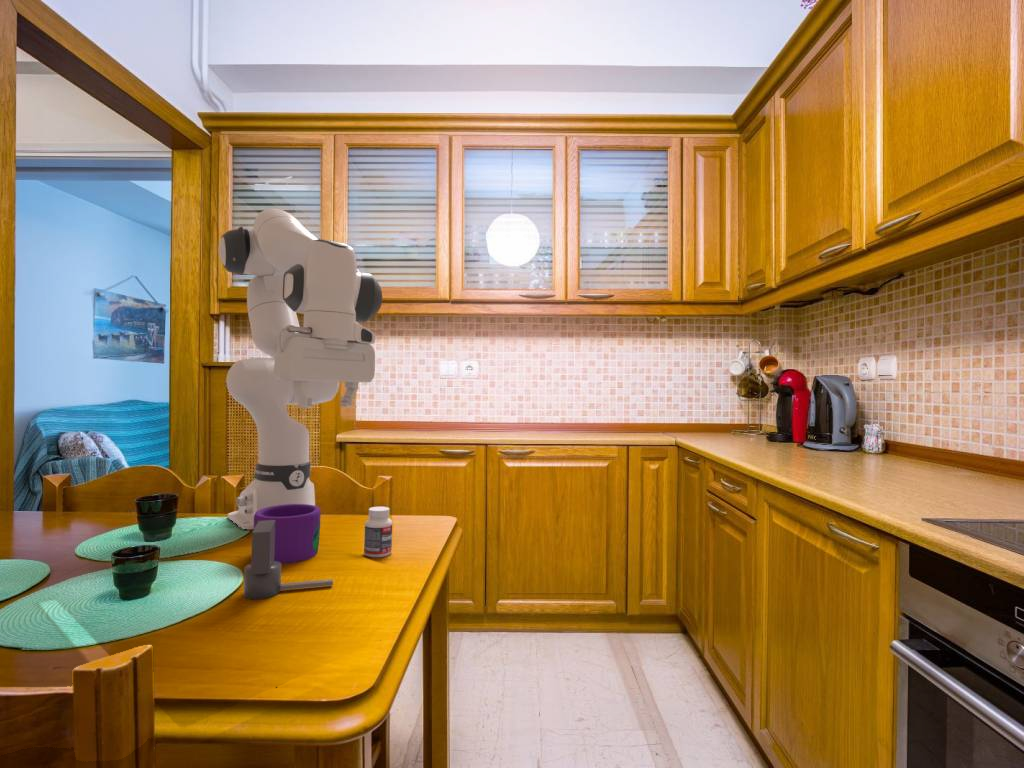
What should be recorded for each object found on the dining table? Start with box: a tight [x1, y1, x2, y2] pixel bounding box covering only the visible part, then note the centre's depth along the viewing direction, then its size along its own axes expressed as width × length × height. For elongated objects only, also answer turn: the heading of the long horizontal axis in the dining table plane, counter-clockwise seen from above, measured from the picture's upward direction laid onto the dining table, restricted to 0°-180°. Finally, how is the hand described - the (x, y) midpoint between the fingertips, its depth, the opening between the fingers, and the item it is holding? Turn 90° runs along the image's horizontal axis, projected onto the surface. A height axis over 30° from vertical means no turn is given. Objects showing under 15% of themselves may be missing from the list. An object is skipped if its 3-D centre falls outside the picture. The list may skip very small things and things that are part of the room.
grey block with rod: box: [243, 520, 334, 600], centre depth 80 cm, size 12×7×10 cm, turn 109°
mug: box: [254, 504, 322, 565], centre depth 99 cm, size 17×11×10 cm, turn 11°
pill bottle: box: [363, 506, 393, 559], centre depth 103 cm, size 5×5×9 cm
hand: (326, 407), depth 94 cm, fingers open, 8 cm apart
